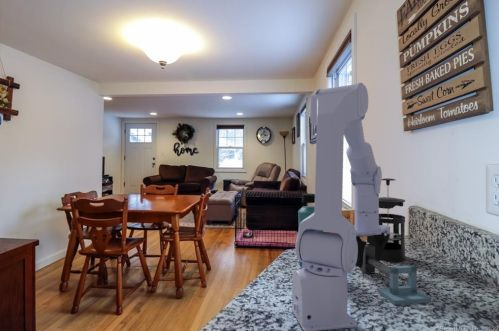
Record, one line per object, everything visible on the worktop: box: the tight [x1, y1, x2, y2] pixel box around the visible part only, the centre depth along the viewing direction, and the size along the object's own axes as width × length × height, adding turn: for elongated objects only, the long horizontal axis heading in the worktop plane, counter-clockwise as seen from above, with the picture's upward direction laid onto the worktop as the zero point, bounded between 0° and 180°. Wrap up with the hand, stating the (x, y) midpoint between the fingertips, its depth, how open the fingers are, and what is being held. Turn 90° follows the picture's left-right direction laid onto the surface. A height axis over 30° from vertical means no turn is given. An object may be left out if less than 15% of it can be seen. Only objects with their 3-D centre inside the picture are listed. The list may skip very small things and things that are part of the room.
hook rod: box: [359, 243, 400, 278], centre depth 71 cm, size 13×3×7 cm, turn 8°
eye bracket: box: [376, 264, 432, 306], centre depth 62 cm, size 6×8×6 cm
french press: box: [366, 177, 407, 263], centre depth 88 cm, size 12×9×23 cm
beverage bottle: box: [297, 193, 323, 269], centre depth 76 cm, size 6×7×20 cm
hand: (366, 264), depth 76 cm, fingers open, 5 cm apart
